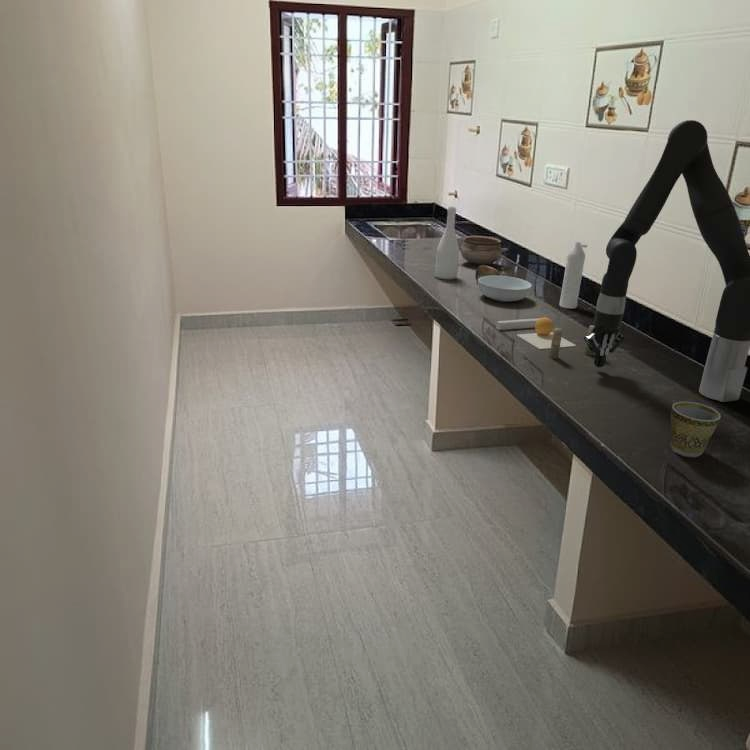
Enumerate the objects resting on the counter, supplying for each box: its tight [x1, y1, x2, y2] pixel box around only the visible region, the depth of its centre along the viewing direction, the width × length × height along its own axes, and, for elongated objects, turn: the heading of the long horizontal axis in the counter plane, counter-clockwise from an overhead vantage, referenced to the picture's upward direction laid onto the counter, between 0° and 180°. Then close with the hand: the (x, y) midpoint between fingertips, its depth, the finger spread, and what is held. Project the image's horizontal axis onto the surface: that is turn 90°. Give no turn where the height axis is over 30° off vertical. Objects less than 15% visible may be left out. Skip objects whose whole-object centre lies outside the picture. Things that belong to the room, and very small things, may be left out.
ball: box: [534, 316, 555, 335], centre depth 224 cm, size 6×6×6 cm
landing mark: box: [516, 331, 577, 350], centre depth 220 cm, size 14×14×1 cm
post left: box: [548, 327, 563, 360], centre depth 204 cm, size 3×3×9 cm
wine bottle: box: [434, 206, 460, 281], centre depth 287 cm, size 10×10×30 cm
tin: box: [475, 265, 501, 284], centre depth 280 cm, size 15×3×8 cm, turn 25°
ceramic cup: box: [669, 401, 721, 458], centre depth 152 cm, size 13×10×10 cm
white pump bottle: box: [559, 241, 588, 310], centre depth 254 cm, size 9×6×25 cm
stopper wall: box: [495, 317, 541, 331], centre depth 232 cm, size 2×20×2 cm, turn 111°
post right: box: [584, 324, 595, 356], centre depth 209 cm, size 3×3×9 cm
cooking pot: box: [458, 235, 509, 268], centre depth 316 cm, size 25×19×12 cm
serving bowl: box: [477, 275, 533, 303], centre depth 264 cm, size 21×21×7 cm
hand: (599, 366), depth 196 cm, fingers closed
